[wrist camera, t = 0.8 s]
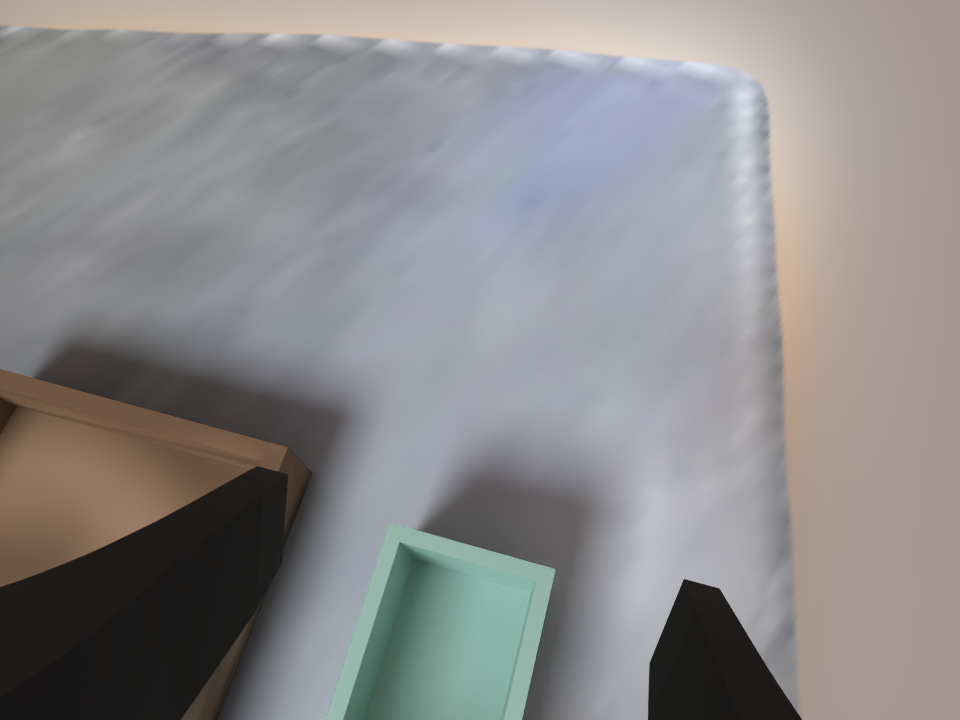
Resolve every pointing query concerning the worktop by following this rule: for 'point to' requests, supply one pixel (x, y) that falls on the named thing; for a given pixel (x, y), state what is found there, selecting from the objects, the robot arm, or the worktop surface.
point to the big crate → (113, 483)
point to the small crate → (443, 633)
